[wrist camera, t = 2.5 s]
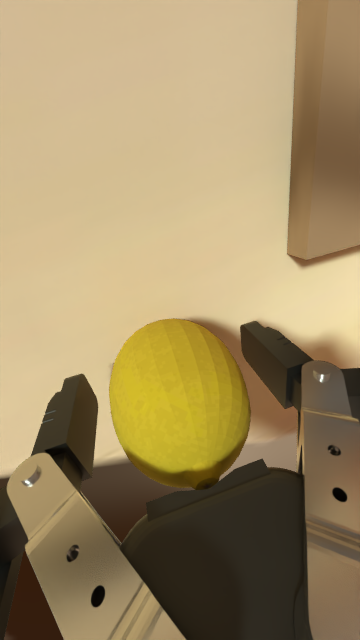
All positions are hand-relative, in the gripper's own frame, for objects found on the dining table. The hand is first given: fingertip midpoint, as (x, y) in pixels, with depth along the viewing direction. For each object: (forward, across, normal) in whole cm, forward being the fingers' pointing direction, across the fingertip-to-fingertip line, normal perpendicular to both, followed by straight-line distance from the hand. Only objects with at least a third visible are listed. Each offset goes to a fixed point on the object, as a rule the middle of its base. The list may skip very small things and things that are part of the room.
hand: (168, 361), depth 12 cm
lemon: (+2, 0, 0) cm, 2 cm away
